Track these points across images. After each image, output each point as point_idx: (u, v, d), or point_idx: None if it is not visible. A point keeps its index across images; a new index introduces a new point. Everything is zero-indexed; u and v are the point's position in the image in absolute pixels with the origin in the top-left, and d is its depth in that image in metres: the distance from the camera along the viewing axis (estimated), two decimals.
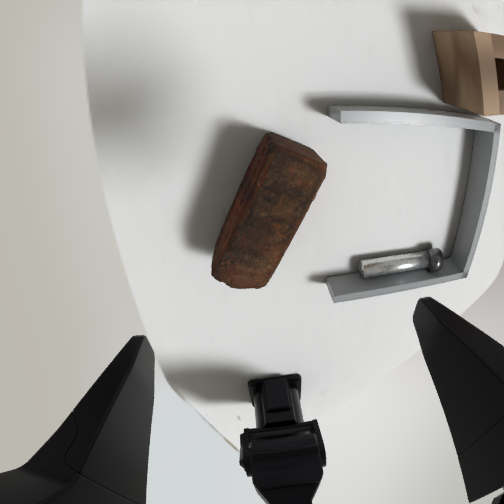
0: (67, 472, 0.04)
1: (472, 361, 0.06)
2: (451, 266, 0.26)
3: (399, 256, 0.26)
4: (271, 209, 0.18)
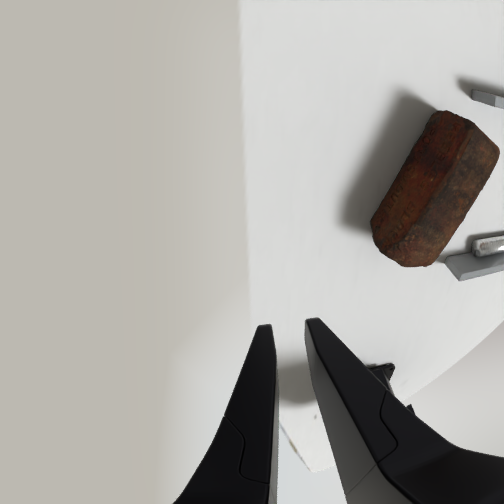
0: (254, 488, 0.04)
1: (339, 401, 0.06)
2: None
3: (502, 237, 0.22)
4: (462, 183, 0.15)
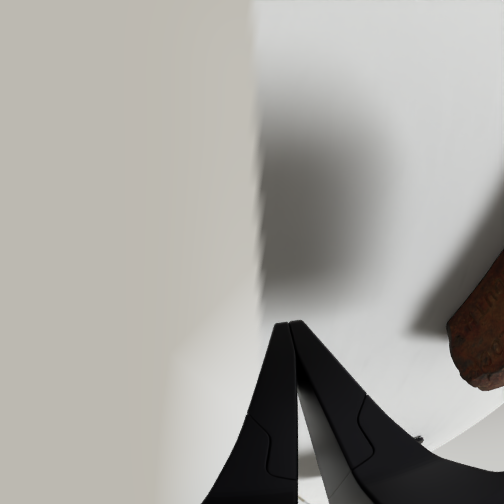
0: (282, 485, 0.04)
1: (318, 405, 0.06)
2: None
3: None
4: None
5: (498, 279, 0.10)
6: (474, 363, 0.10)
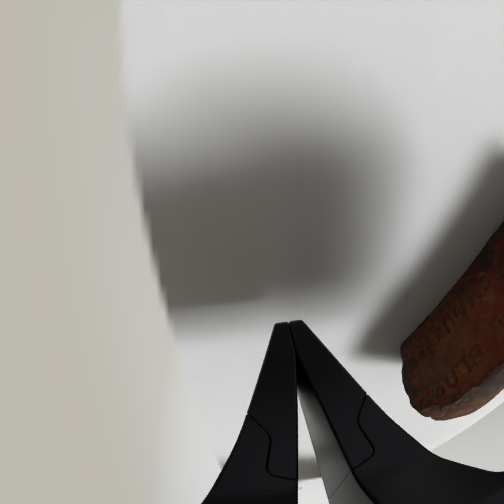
0: (283, 485, 0.04)
1: (317, 405, 0.06)
2: None
3: None
4: None
5: (459, 302, 0.10)
6: (425, 392, 0.10)
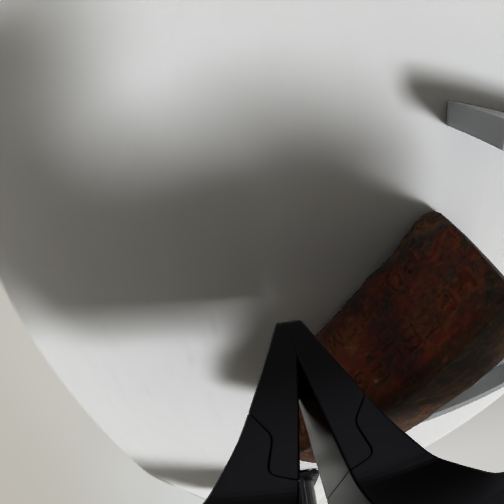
0: (285, 485, 0.04)
1: (316, 405, 0.06)
2: None
3: None
4: (437, 391, 0.07)
5: None
6: None
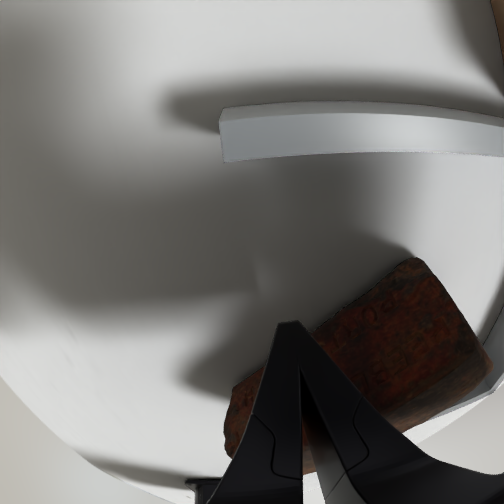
0: (288, 484, 0.04)
1: (313, 406, 0.06)
2: None
3: None
4: (395, 422, 0.08)
5: None
6: (237, 441, 0.11)
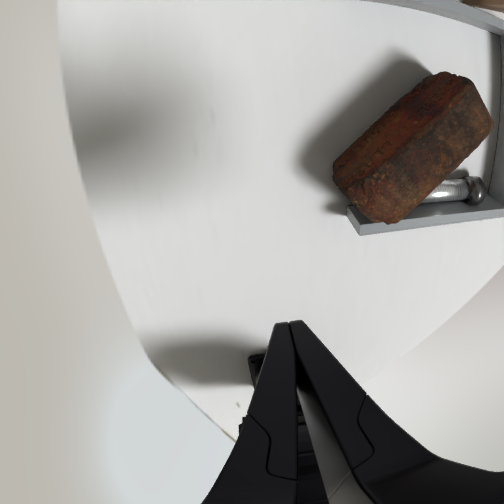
0: (283, 485, 0.04)
1: (318, 405, 0.06)
2: (492, 201, 0.19)
3: None
4: (449, 136, 0.13)
5: (376, 128, 0.17)
6: (350, 176, 0.16)
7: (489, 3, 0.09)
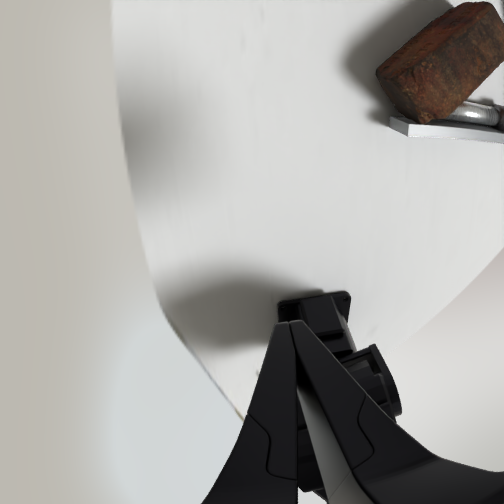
0: (282, 485, 0.04)
1: (317, 405, 0.06)
2: None
3: (468, 102, 0.16)
4: (480, 43, 0.11)
5: (413, 40, 0.14)
6: (398, 69, 0.14)
7: None
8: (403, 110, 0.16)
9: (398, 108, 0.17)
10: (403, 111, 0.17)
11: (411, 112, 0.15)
